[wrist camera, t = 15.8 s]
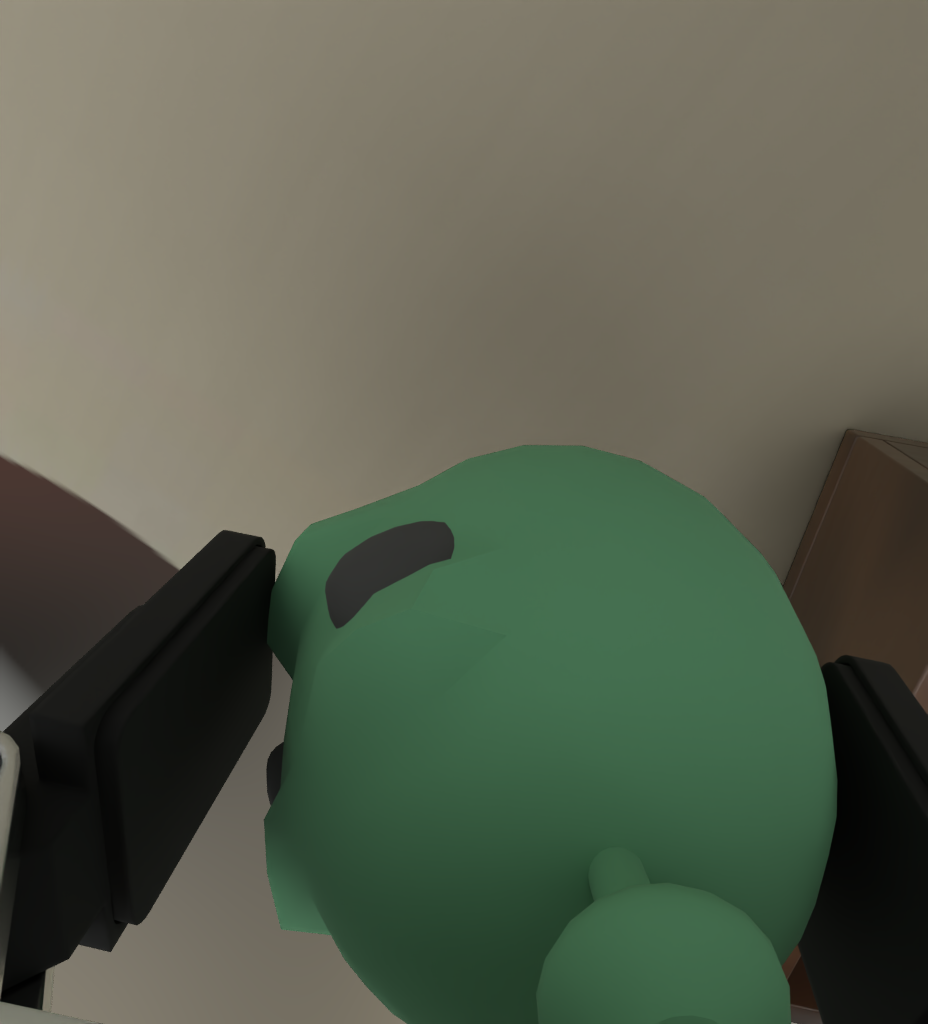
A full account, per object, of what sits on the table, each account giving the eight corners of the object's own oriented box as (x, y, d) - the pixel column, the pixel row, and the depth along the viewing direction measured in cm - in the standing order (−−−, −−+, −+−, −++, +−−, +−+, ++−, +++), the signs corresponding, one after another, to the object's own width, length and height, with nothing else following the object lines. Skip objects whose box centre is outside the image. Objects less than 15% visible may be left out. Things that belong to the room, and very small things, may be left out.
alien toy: (410, 307, 12) (-84, 649, 3) (809, 470, 12) (1563, 1269, 3) (311, 614, 15) (-79, 1254, 6) (632, 739, 15) (740, 1537, 6)
